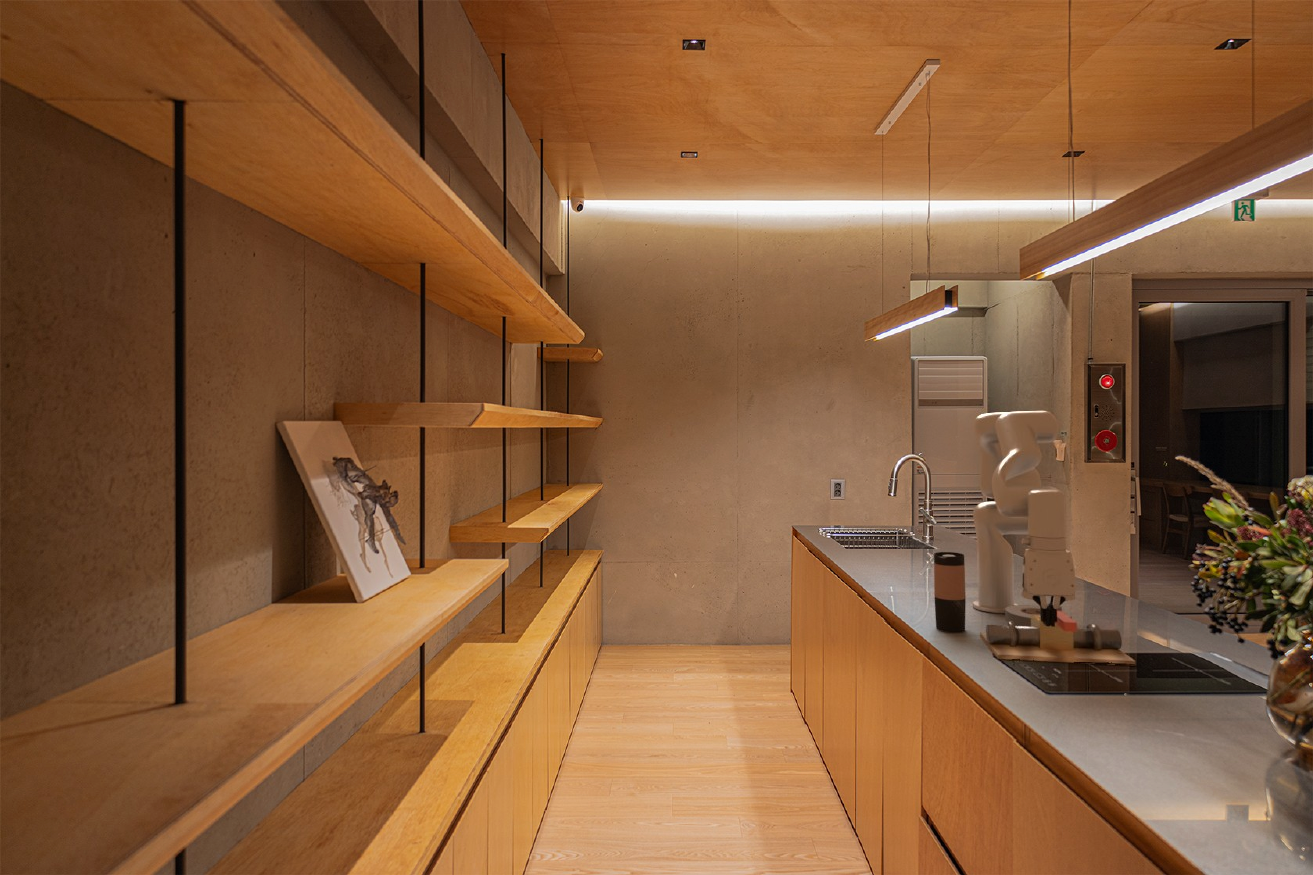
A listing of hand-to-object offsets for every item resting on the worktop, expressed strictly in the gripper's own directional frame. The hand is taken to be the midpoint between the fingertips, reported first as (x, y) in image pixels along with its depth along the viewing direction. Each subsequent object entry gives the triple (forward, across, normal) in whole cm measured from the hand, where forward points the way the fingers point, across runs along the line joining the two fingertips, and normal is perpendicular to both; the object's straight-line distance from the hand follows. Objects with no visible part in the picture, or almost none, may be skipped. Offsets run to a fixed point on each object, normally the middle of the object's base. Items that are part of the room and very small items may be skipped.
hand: (1048, 624), depth 156 cm
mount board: (+8, +3, +10) cm, 13 cm away
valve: (+8, +3, +10) cm, 13 cm away
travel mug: (+9, -17, +24) cm, 31 cm away
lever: (+1, +3, +4) cm, 5 cm away
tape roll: (+9, +5, +28) cm, 29 cm away
